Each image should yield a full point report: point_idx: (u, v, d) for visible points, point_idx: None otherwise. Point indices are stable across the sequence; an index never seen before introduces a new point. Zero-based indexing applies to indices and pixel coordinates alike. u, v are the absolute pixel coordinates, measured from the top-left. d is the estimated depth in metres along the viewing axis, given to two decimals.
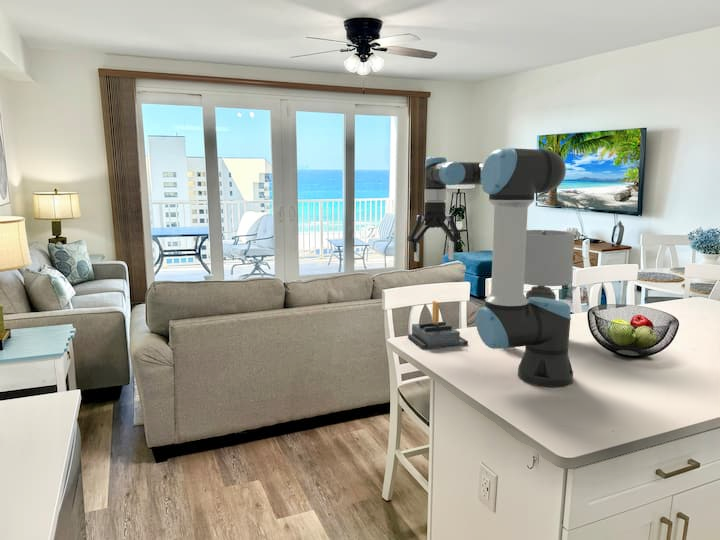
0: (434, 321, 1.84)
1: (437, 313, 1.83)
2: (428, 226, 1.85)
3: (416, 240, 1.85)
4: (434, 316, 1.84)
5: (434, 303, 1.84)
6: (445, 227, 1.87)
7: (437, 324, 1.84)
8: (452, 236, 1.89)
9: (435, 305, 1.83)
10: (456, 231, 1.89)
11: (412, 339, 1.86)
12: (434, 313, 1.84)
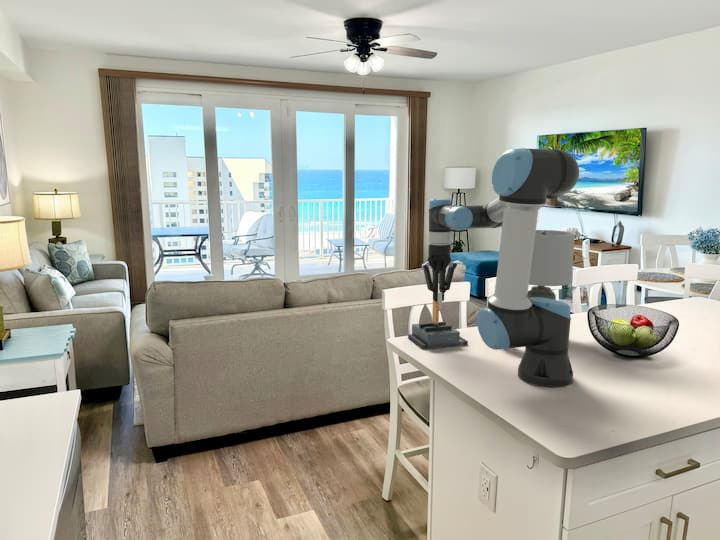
0: (434, 321, 1.84)
1: (437, 313, 1.83)
2: (437, 271, 1.80)
3: (436, 289, 1.82)
4: (434, 316, 1.84)
5: (434, 303, 1.84)
6: (443, 272, 1.81)
7: (437, 324, 1.84)
8: (443, 285, 1.82)
9: (435, 305, 1.83)
10: (449, 280, 1.83)
11: (412, 339, 1.86)
12: (434, 313, 1.84)
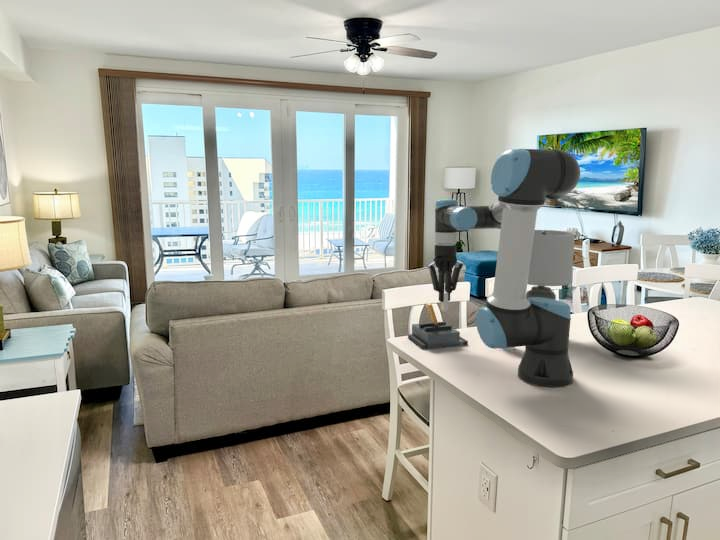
0: (433, 322, 1.84)
1: (433, 314, 1.83)
2: (444, 271, 1.81)
3: (442, 290, 1.82)
4: (431, 317, 1.84)
5: (427, 305, 1.83)
6: (450, 273, 1.82)
7: (437, 324, 1.84)
8: (449, 285, 1.83)
9: (429, 307, 1.82)
10: (455, 280, 1.83)
11: (412, 339, 1.86)
12: (431, 314, 1.84)
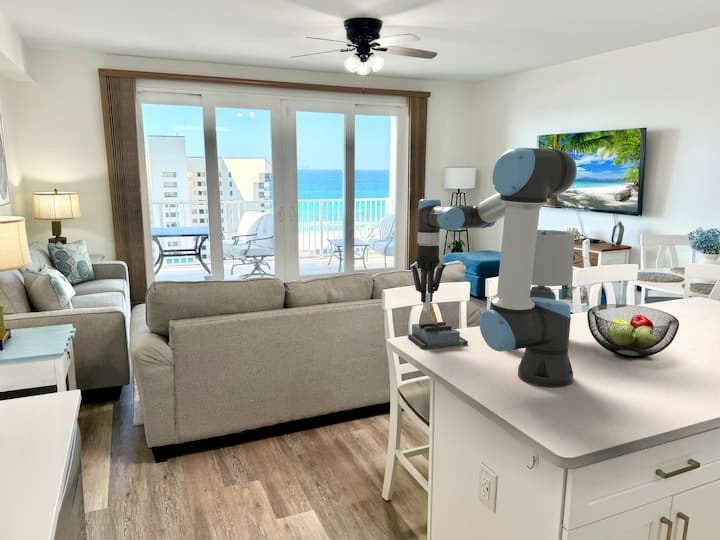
0: (433, 322, 1.84)
1: (434, 314, 1.83)
2: (426, 272, 1.79)
3: (424, 290, 1.80)
4: (431, 317, 1.84)
5: None
6: (432, 273, 1.80)
7: (437, 324, 1.84)
8: (431, 286, 1.81)
9: None
10: (438, 281, 1.81)
11: (412, 339, 1.86)
12: (431, 314, 1.84)
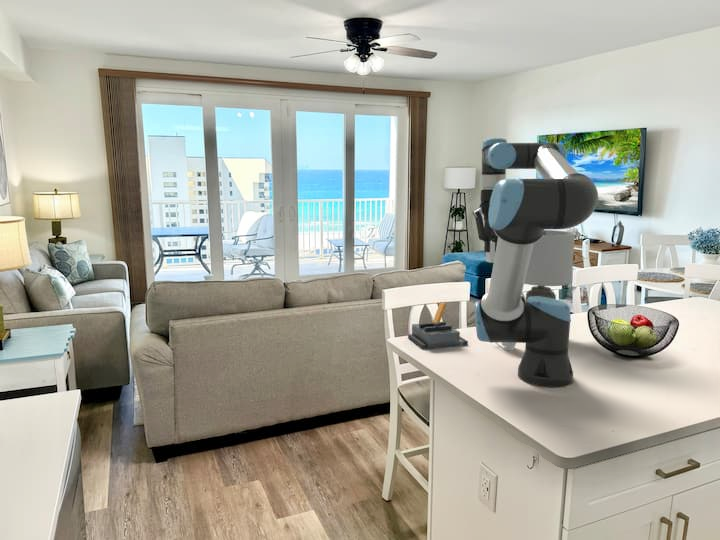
0: (435, 321, 1.84)
1: (441, 314, 1.83)
2: None
3: (489, 238, 1.67)
4: (436, 316, 1.85)
5: (441, 303, 1.84)
6: None
7: (437, 324, 1.84)
8: (496, 234, 1.68)
9: (442, 305, 1.84)
10: None
11: (412, 339, 1.86)
12: (438, 313, 1.84)
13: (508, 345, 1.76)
